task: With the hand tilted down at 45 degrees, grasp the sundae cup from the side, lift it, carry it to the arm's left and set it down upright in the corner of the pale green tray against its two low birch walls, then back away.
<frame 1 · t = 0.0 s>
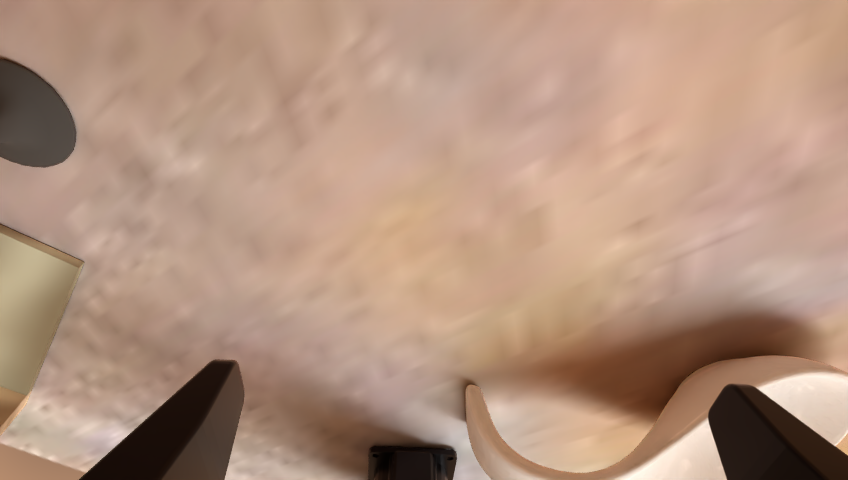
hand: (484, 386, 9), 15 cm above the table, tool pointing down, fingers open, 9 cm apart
spoon rest: (637, 390, 32), on the table
sundae: (21, 113, 21), on the table
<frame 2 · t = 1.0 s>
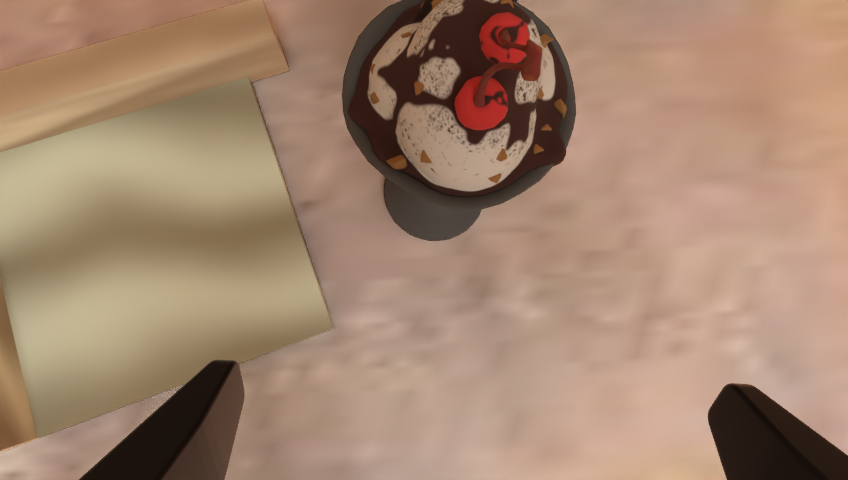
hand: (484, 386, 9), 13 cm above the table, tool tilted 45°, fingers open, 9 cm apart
corner tray: (170, 251, 22), on the table
sundae: (434, 193, 23), on the table
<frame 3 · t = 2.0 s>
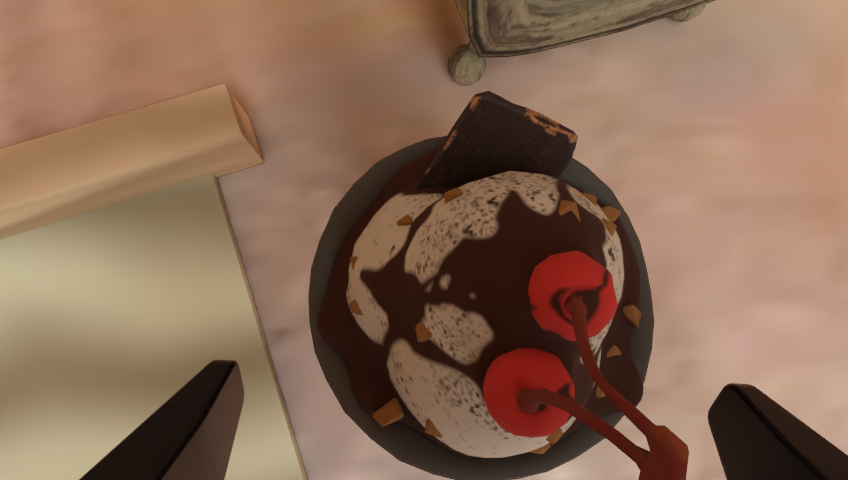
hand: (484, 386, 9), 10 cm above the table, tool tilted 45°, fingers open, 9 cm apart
corner tray: (108, 396, 17), on the table
sundae: (440, 316, 19), on the table
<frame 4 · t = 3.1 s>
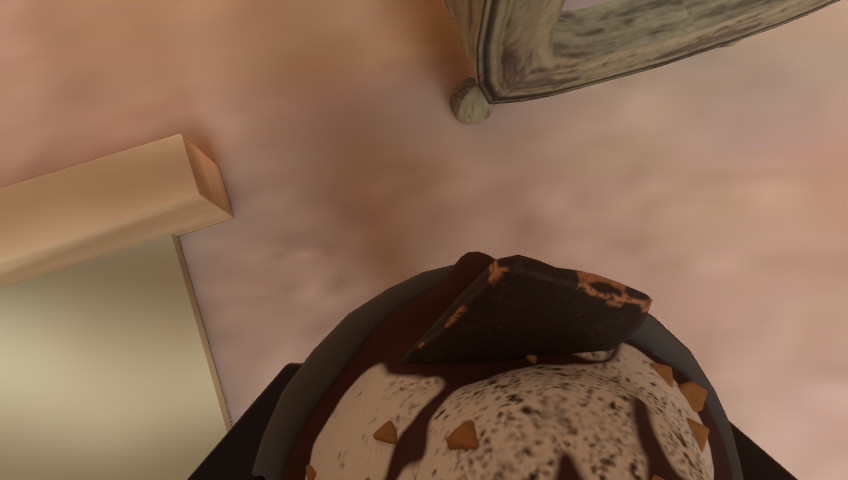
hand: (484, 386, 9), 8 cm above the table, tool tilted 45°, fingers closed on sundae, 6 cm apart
sundae: (441, 401, 16), on the table, touching gripper
tabletop clock: (566, 18, 19), on the table
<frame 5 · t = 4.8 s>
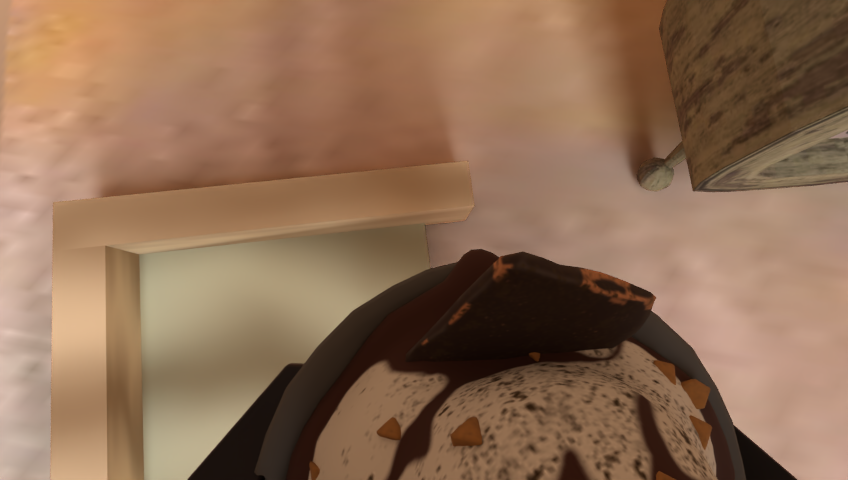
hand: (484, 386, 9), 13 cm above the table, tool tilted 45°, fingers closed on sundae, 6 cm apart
corner tray: (310, 391, 21), on the table
sundae: (442, 399, 16), point 5 cm above the table, touching gripper
tabletop clock: (730, 123, 25), on the table
when the fingers open (9 cm above the table, at t = 6.3 s): sundae drops 1 cm, resting on corner tray.
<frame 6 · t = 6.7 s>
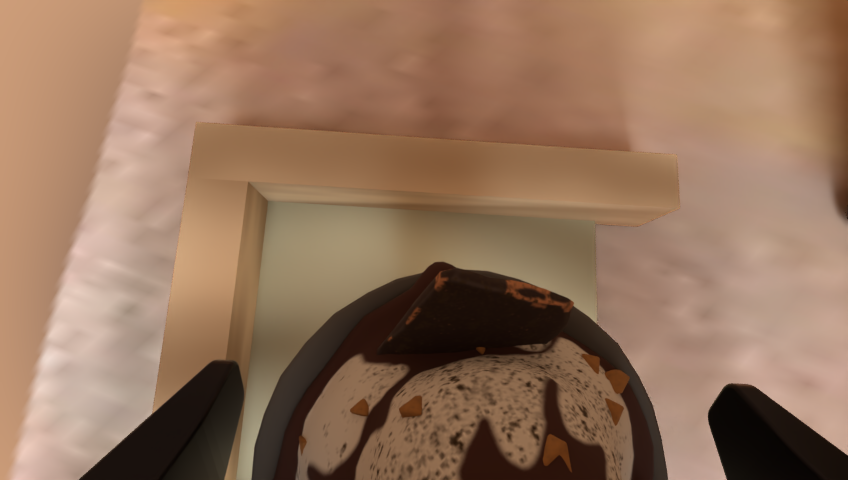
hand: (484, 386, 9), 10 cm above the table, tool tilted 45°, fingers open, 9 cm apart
corner tray: (437, 394, 18), on the table
sundae: (434, 394, 17), resting on corner tray
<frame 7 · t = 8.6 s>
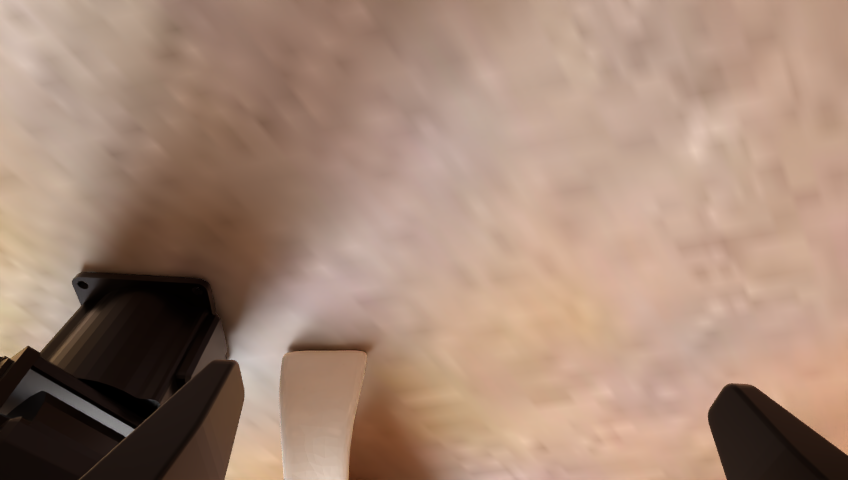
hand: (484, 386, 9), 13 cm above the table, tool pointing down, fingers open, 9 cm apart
spoon rest: (344, 459, 34), on the table
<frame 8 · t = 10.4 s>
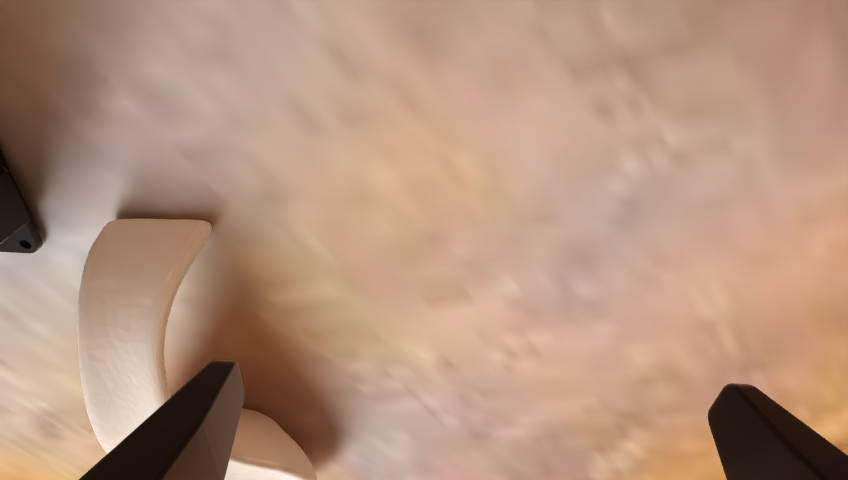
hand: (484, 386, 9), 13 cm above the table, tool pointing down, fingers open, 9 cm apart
spoon rest: (221, 376, 29), on the table
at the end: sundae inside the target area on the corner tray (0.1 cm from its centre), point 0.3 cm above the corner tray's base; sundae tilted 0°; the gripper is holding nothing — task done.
